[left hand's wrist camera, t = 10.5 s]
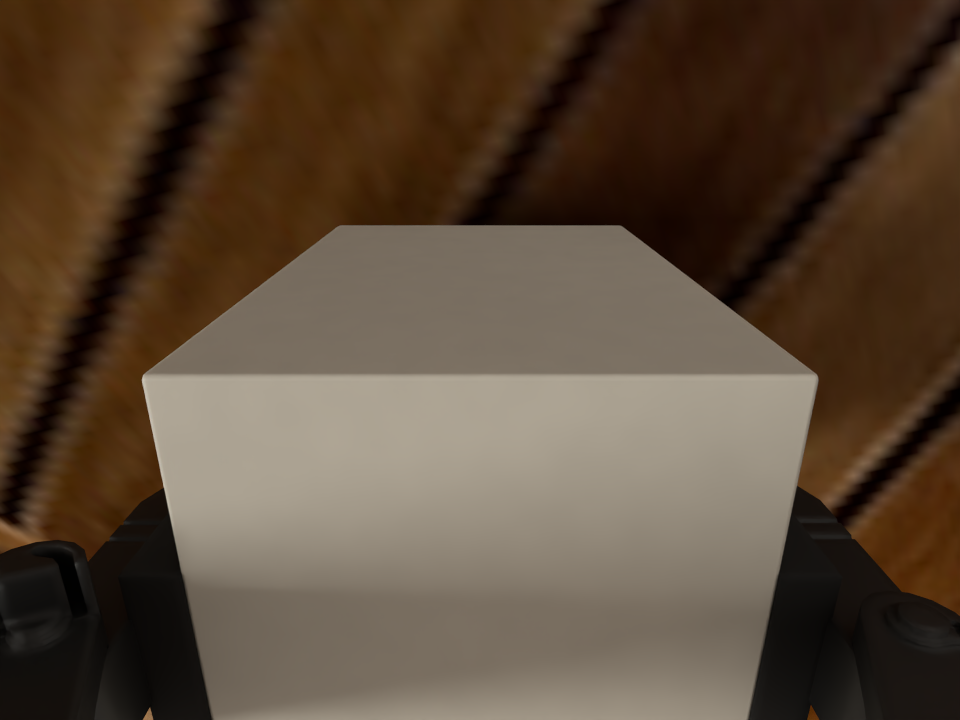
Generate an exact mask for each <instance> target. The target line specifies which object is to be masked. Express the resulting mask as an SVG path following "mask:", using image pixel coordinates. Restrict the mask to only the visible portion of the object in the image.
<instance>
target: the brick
mask: <svg viewBox="0 0 960 720" xmlns="http://www.w3.org/2000/svg"><path fill="white" fill-rule="evenodd" d="M142 382H143V387H144V392H145V397H146V402H147V407H148V412H149V416H150V421H151V426H152V431H153V436H154V441H155V446H156V451H157V455H158V460H159V465H160V470H161V475H162V480H163V485H164V490H165V494H166V499H167V504H168V509H169V514H170V519H171V524H172V528H173V533H174V538H175V543H176V548H177V553H178V558H179V563H180V567H181V572H182V577H183V582H184V587H185V592H186V597H187V602H188V606H189V611H190V616H191V621H192V626H193V631H194V636H195V640H196V645H197V650H198V655H199V660H200V665H201V670H202V675H203V679H204V684H205V689H206V694H207V699H208V704H209V709H210V714H211V718H212V720H749V716H750V711H751V706H752V701H753V697H754V692H755V687H756V682H757V677H758V672H759V667H760V663H761V658H762V653H763V648H764V643H765V638H766V633H767V629H768V624H769V619H770V614H771V609H772V604H773V599H774V595H775V590H776V585H777V580H778V575H779V570H780V565H781V561H782V556H783V551H784V546H785V541H786V536H787V531H788V526H789V522H790V517H791V512H792V507H793V502H794V497H795V492H796V488H797V483H798V478H799V473H800V468H801V463H802V458H803V454H804V449H805V444H806V439H807V434H808V429H809V424H810V420H811V415H812V410H813V405H814V400H815V395H816V390H817V386H818V376H817V374H816V373H814V372H813V371H812V370H810V369H809V368H808V367H806V366H805V365H804V364H802V363H801V362H800V361H798V360H797V359H796V358H794V357H793V356H792V355H791V354H789V353H788V352H787V351H785V350H784V349H783V348H781V347H780V346H779V345H777V344H776V343H775V342H773V341H772V340H771V339H769V338H768V337H767V336H766V335H764V334H763V333H762V332H760V331H759V330H758V329H756V328H755V327H754V326H752V325H751V324H750V323H748V322H747V321H746V320H744V319H743V318H742V317H741V316H739V315H738V314H737V313H735V312H734V311H733V310H731V309H730V308H729V307H727V306H726V305H725V304H723V303H722V302H721V301H719V300H718V299H717V298H716V297H714V296H713V295H712V294H710V293H709V292H708V291H706V290H705V289H704V288H702V287H701V286H700V285H698V284H697V283H696V282H694V281H693V280H692V279H691V278H689V277H688V276H687V275H685V274H684V273H683V272H681V271H680V270H679V269H677V268H676V267H675V266H673V265H672V264H671V263H669V262H668V261H667V260H666V259H664V258H663V257H662V256H660V255H659V254H658V253H656V252H655V251H654V250H652V249H651V248H650V247H648V246H647V245H646V244H645V243H643V242H642V241H641V240H639V239H638V238H637V237H635V236H634V235H633V234H631V233H630V232H629V231H627V230H626V229H625V228H623V227H622V226H338V227H337V228H336V229H334V230H333V231H332V232H330V233H329V234H328V235H326V236H325V237H324V238H322V239H321V240H320V241H318V242H317V243H316V244H315V245H313V246H312V247H311V248H309V249H308V250H307V251H305V252H304V253H303V254H301V255H300V256H299V257H297V258H296V259H295V260H294V261H292V262H291V263H290V264H288V265H287V266H286V267H284V268H283V269H282V270H280V271H279V272H278V273H276V274H275V275H274V276H273V277H271V278H270V279H269V280H267V281H266V282H265V283H263V284H262V285H261V286H259V287H258V288H257V289H255V290H254V291H253V292H252V293H250V294H249V295H248V296H246V297H245V298H244V299H242V300H241V301H240V302H238V303H237V304H236V305H234V306H233V307H232V308H230V309H229V310H228V311H227V312H225V313H224V314H223V315H221V316H220V317H219V318H217V319H216V320H215V321H213V322H212V323H211V324H209V325H208V326H207V327H206V328H204V329H203V330H202V331H200V332H199V333H198V334H196V335H195V336H194V337H192V338H191V339H190V340H188V341H187V342H186V343H185V344H183V345H182V346H181V347H179V348H178V349H177V350H175V351H174V352H173V353H171V354H170V355H169V356H167V357H166V358H165V359H163V360H162V361H161V362H160V363H158V364H157V365H156V366H154V367H153V368H152V369H150V370H149V371H148V372H146V373H145V374H144V375H143V378H142Z"/></svg>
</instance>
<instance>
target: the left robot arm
mask: <svg viewBox="0 0 960 720" xmlns="http://www.w3.org/2000/svg"><path fill="white" fill-rule="evenodd" d="M811 705H812V707H813V709H814V711H815V712H816V714H817V716H818V718H819V720H960V616H959V615H958V614H956V613H955V612H953V611H951V610H949V609H948V608H946V607H944V606H942V605H940V604H938V603H936V602H934V601H932V600H929V599H926V598H923V597H920V596H917V595H914V594H911V593H905V592H901V591H900V589H899V588H898V587H897V586H896V585H895V584H894V583H893V582H892V580H891V579H890V578H889V577H888V576H887V575H886V574H885V573H884V571H883V570H882V569H881V568H880V567H879V566H878V565H877V564H876V562H875V561H874V560H873V559H872V558H871V557H870V556H869V555H868V553H867V552H866V551H865V550H864V549H863V548H862V547H861V546H860V545H859V543H858V542H857V541H856V540H855V539H852V538H851V534H850V533H849V532H848V531H847V530H846V529H845V528H844V527H843V525H842V524H841V523H837V519H836V518H835V516H834V515H833V514H832V513H831V512H830V511H829V510H828V509H827V507H826V506H825V505H824V504H823V503H822V502H821V501H820V500H819V499H817V498H816V497H814V496H813V495H811V494H809V493H808V492H806V491H805V490H803V489H801V488H800V487H798V486H797V488H796V492H795V497H794V502H793V507H792V512H791V517H790V522H789V526H788V531H787V536H786V541H785V546H784V551H783V556H782V561H781V565H780V570H779V575H778V580H777V585H776V590H775V595H774V599H773V604H772V609H771V614H770V619H769V624H768V629H767V633H766V638H765V643H764V648H763V653H762V658H761V663H760V667H759V672H758V677H757V682H756V687H755V692H754V697H753V701H752V706H751V711H750V716H749V720H807V718H808V714H809V710H810V706H811ZM149 708H151V712H152V716H153V720H212V718H211V714H210V709H209V704H208V699H207V694H206V689H205V684H204V679H203V675H202V670H201V665H200V660H199V655H198V650H197V645H196V640H195V636H194V631H193V626H192V621H191V616H190V611H189V606H188V602H187V597H186V592H185V587H184V582H183V577H182V572H181V567H180V563H179V558H178V553H177V548H176V543H175V538H174V533H173V528H172V524H171V519H170V514H169V509H168V504H167V499H166V494H165V490H164V488H163V489H161V490H160V491H158V492H156V493H155V494H153V495H152V496H150V497H148V498H147V499H145V500H144V501H142V502H141V503H140V504H139V505H138V506H137V507H136V508H135V509H134V511H133V512H132V513H131V514H130V515H129V516H128V517H127V518H126V520H125V521H124V525H120V526H119V528H118V529H117V530H116V531H115V532H114V533H113V534H112V535H111V537H110V541H109V542H105V543H104V545H103V546H102V547H101V548H100V549H99V550H98V551H97V552H96V554H95V555H94V556H93V557H92V558H91V559H90V560H89V561H87V558H86V554H85V550H84V549H83V548H81V547H80V546H79V545H77V544H76V543H74V542H67V541H61V540H53V541H43V542H35V543H31V544H28V545H24V546H21V547H17V548H14V549H11V550H9V551H6V552H4V553H2V554H0V720H143V718H144V716H145V715H146V713H147V711H148V709H149Z"/></svg>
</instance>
